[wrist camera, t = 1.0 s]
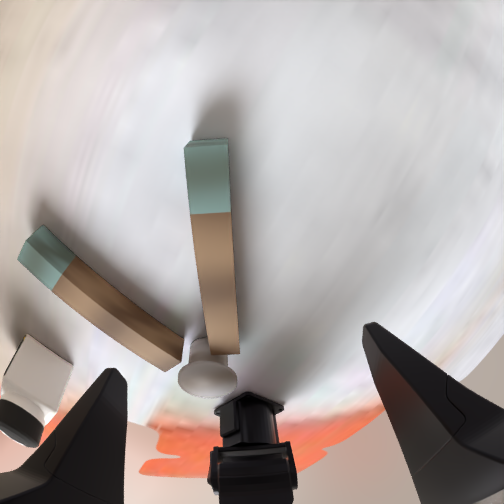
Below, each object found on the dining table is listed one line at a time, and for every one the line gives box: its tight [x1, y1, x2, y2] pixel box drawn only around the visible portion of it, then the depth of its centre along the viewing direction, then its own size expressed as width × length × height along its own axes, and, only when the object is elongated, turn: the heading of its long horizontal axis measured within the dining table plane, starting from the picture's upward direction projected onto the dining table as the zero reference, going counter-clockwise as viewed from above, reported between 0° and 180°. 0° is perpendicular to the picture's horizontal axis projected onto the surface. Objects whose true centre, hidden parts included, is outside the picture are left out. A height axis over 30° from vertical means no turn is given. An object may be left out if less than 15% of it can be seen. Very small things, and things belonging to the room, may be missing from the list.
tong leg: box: [184, 138, 240, 355], centre depth 20 cm, size 16×2×3 cm, turn 1°
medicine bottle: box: [0, 334, 73, 448], centre depth 22 cm, size 7×7×12 cm
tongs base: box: [17, 225, 237, 398], centre depth 22 cm, size 22×6×4 cm, turn 41°
